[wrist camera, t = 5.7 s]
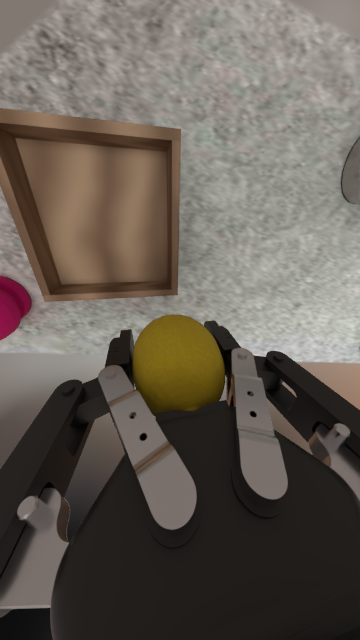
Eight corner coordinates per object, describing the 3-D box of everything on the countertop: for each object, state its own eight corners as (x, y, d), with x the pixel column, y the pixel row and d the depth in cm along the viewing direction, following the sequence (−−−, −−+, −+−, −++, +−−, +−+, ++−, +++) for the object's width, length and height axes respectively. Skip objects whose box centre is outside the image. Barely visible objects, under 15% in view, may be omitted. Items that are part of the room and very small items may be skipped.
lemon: (119, 315, 13) (101, 418, 7) (187, 284, 13) (239, 358, 7) (151, 362, 16) (162, 467, 10) (208, 338, 16) (258, 427, 10)
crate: (172, 144, 20) (180, 129, 16) (172, 283, 28) (177, 294, 24) (6, 128, 17) (-31, 104, 13) (58, 288, 25) (44, 301, 22)
